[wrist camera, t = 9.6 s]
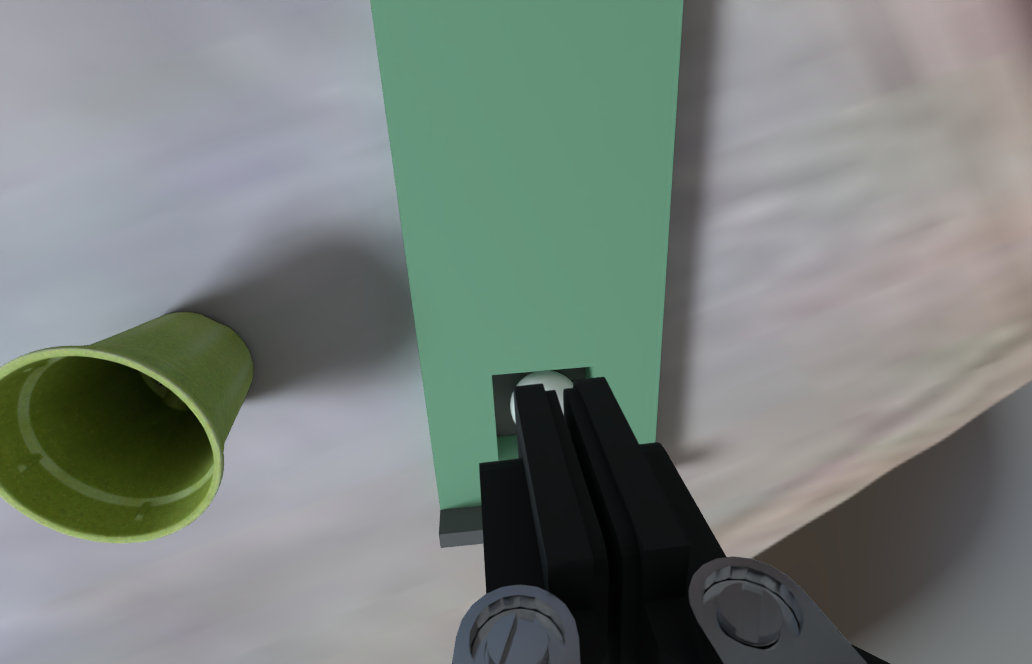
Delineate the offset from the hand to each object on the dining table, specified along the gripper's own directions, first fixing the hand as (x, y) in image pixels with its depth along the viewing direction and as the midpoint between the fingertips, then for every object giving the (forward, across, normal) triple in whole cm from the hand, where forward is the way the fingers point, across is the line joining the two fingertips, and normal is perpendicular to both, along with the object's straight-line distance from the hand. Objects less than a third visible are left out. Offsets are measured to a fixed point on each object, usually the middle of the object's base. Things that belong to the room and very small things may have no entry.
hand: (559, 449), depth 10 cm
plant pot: (+20, +17, +6) cm, 27 cm away
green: (+20, -2, +4) cm, 20 cm away
